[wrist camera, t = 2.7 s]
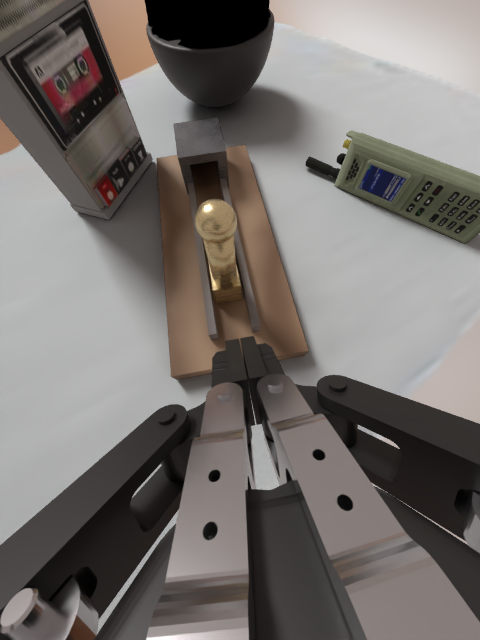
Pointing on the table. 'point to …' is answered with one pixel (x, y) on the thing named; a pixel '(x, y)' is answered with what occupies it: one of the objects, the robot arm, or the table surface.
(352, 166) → the handheld radio
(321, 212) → the table surface
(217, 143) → the steel keeper
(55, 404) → the table surface
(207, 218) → the brass bolt
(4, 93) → the cassette tape recorder
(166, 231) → the wooden track base
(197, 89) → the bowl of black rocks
